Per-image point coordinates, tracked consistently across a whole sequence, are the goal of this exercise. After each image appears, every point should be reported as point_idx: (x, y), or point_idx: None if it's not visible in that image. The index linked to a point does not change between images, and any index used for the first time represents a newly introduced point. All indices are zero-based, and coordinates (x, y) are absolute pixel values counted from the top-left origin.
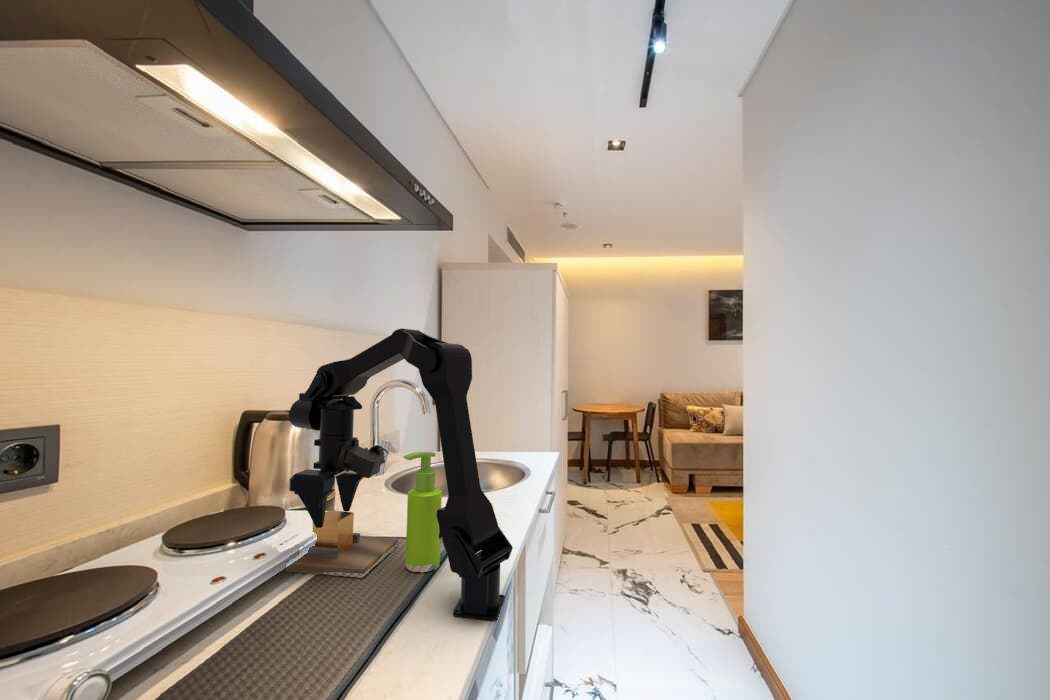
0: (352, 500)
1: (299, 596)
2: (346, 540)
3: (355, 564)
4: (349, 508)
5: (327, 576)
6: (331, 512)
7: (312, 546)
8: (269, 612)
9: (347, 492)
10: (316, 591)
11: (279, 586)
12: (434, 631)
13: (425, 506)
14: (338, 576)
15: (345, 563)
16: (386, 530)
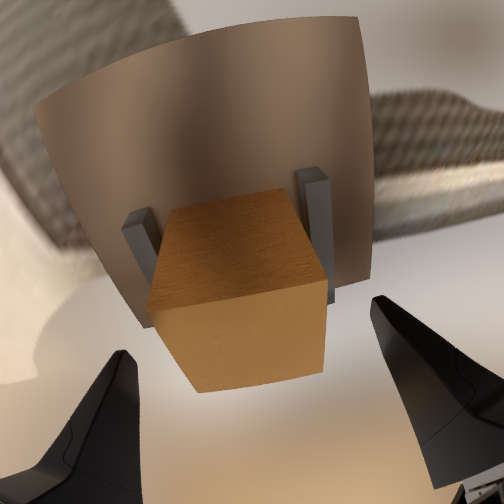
0: (94, 388)
1: (458, 139)
2: (218, 217)
3: (330, 67)
4: (118, 358)
5: None
6: (218, 376)
7: None
8: (500, 155)
9: (112, 441)
10: (437, 114)
11: (427, 215)
12: None
13: None
14: None
15: (335, 109)
16: (4, 240)
